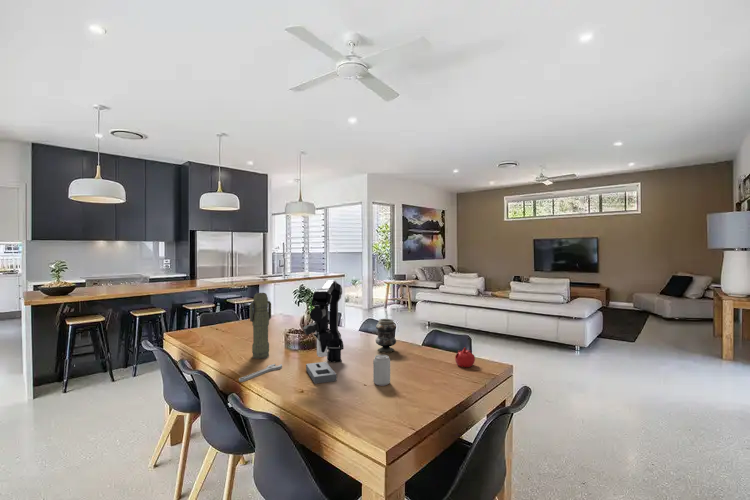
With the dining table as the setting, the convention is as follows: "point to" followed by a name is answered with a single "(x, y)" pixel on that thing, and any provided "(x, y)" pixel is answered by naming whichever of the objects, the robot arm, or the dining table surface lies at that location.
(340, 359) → the robot arm
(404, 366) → the dining table surface
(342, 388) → the dining table surface
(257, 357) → the thermos
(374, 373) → the can
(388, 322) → the apothecary jar
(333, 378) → the socket plate
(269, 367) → the adjustable wrench
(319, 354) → the steel peg
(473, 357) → the pomegranate
